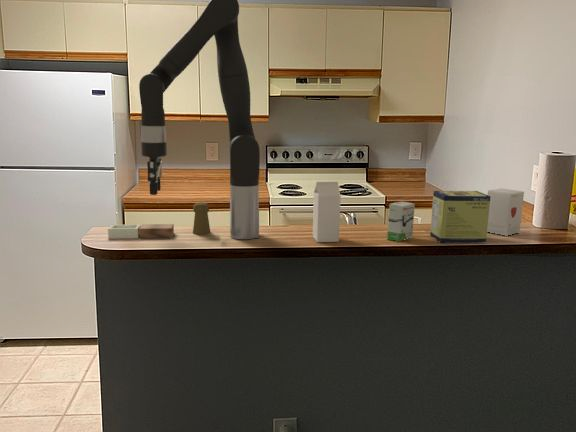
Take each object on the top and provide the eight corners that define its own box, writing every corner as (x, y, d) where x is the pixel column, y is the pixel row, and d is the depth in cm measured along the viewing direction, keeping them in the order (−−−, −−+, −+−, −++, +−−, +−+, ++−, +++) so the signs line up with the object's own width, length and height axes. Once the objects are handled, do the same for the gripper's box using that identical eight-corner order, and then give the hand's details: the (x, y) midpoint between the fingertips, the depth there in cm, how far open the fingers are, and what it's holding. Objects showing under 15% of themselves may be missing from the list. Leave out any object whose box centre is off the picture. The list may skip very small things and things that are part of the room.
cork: (188, 235, 173) (188, 202, 171) (203, 232, 177) (203, 200, 175) (199, 238, 169) (198, 205, 166) (214, 235, 173) (214, 203, 171)
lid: (173, 233, 171) (173, 224, 171) (172, 237, 166) (171, 228, 165) (142, 233, 170) (142, 224, 170) (139, 237, 164) (139, 228, 164)
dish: (141, 236, 170) (140, 224, 170) (138, 241, 165) (137, 228, 164) (112, 236, 169) (111, 224, 168) (108, 241, 163) (107, 229, 163)
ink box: (399, 242, 168) (401, 206, 166) (386, 239, 172) (388, 203, 169) (413, 237, 175) (415, 202, 172) (400, 235, 178) (402, 200, 175)
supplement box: (507, 237, 177) (511, 193, 174) (482, 232, 184) (486, 190, 181) (520, 233, 183) (525, 191, 180) (496, 228, 190) (500, 187, 187)
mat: (172, 234, 173) (172, 232, 173) (170, 241, 164) (170, 238, 164) (144, 235, 172) (144, 232, 172) (140, 242, 163) (140, 239, 163)
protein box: (487, 243, 169) (491, 195, 166) (439, 243, 168) (443, 195, 165) (473, 235, 179) (477, 190, 176) (429, 235, 178) (432, 190, 175)
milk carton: (339, 242, 167) (341, 183, 163) (317, 242, 166) (318, 183, 162) (333, 236, 174) (335, 180, 170) (312, 237, 173) (314, 180, 169)
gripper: (163, 142, 155) (165, 196, 159) (168, 139, 169) (169, 189, 173) (137, 142, 155) (139, 196, 158) (144, 139, 168) (146, 189, 172)
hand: (155, 192), depth 165 cm, fingers open, 8 cm apart
